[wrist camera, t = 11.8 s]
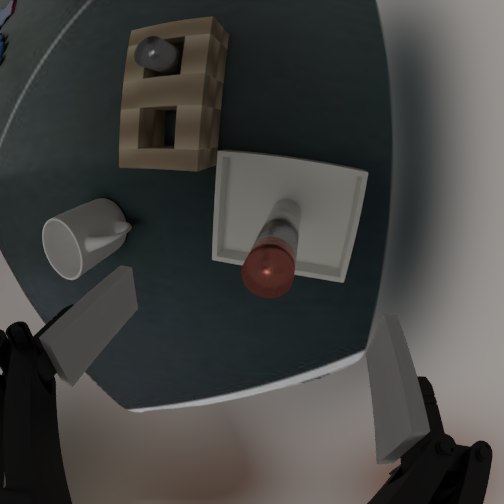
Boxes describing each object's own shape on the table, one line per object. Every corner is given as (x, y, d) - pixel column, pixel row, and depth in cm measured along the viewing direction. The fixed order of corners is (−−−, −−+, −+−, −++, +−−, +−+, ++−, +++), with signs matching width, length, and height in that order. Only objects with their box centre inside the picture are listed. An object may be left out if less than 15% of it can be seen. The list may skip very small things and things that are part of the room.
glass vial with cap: (273, 196, 31) (243, 246, 17) (303, 201, 31) (298, 255, 17) (270, 224, 32) (239, 293, 19) (298, 228, 32) (289, 302, 18)
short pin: (176, 57, 27) (136, 39, 19) (200, 55, 26) (165, 33, 18) (173, 81, 28) (132, 68, 20) (198, 79, 28) (161, 64, 19)
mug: (152, 249, 38) (108, 284, 29) (96, 249, 41) (53, 277, 31) (141, 191, 35) (89, 213, 25) (85, 199, 38) (36, 220, 28)
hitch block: (156, 42, 26) (131, 30, 21) (229, 34, 24) (212, 16, 19) (146, 161, 33) (119, 167, 28) (216, 165, 32) (197, 171, 26)
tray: (225, 149, 31) (217, 150, 28) (363, 169, 28) (368, 172, 25) (219, 250, 36) (212, 259, 33) (341, 271, 34) (343, 282, 31)
